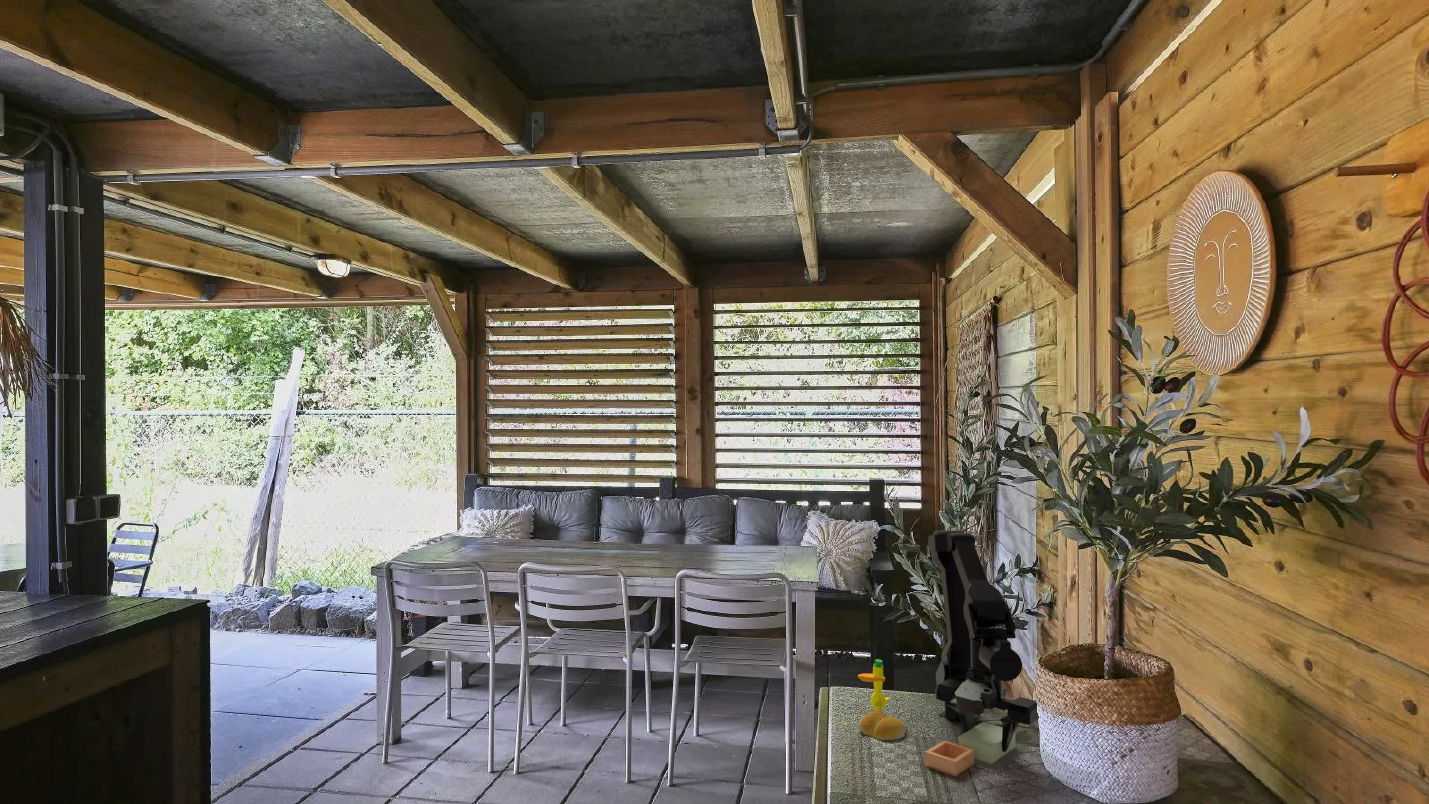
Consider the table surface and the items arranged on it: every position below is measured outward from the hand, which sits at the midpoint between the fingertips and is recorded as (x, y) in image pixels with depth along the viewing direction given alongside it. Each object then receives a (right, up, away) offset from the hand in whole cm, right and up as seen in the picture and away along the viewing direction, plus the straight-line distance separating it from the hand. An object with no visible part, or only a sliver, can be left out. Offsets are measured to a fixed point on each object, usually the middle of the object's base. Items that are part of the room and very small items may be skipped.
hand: (987, 745), depth 149 cm
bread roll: (-18, -2, +9) cm, 20 cm away
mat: (0, -1, 0) cm, 1 cm away
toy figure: (-18, -2, +18) cm, 25 cm away
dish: (-9, -1, -6) cm, 11 cm away
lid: (0, -1, 0) cm, 1 cm away
